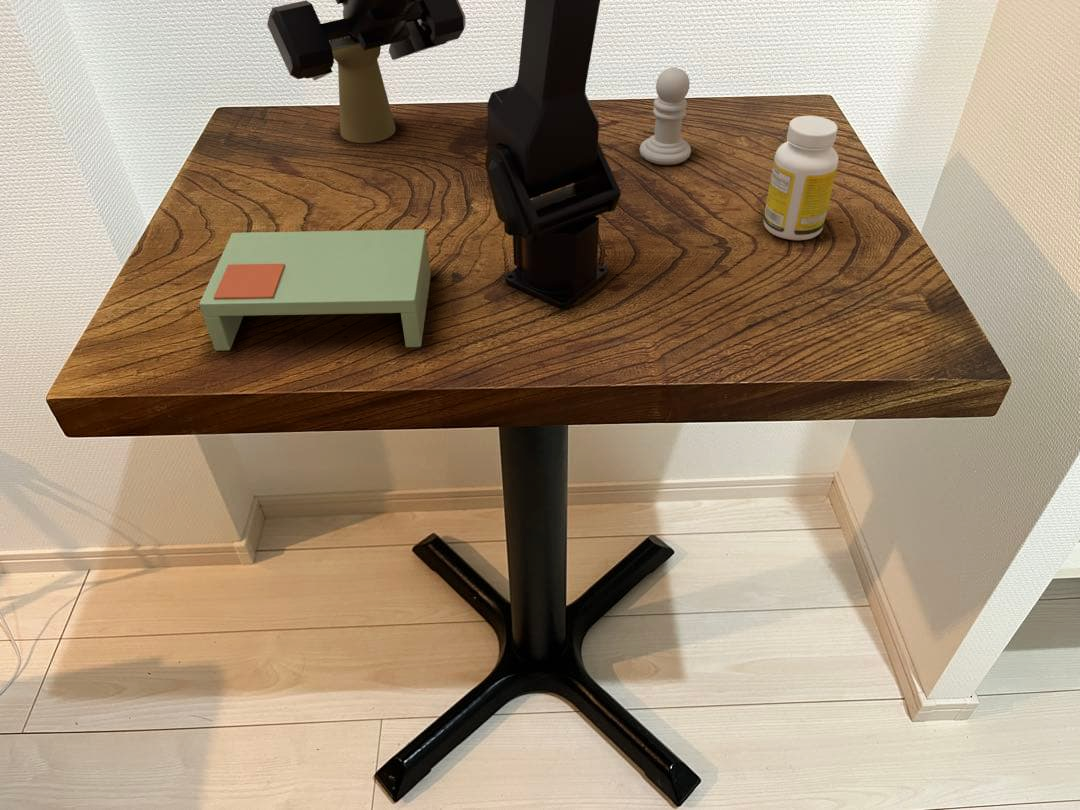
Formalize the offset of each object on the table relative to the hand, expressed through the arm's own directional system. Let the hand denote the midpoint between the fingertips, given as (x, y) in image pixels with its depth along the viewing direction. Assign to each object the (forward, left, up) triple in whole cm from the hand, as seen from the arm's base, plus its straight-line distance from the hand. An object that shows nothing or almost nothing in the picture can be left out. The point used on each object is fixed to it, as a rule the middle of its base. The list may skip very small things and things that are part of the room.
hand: (353, 65), depth 91 cm
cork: (-1, 0, -7) cm, 7 cm away
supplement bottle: (-47, -10, -7) cm, 49 cm away
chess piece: (-30, -15, -7) cm, 34 cm away
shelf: (-23, +25, -7) cm, 35 cm away
